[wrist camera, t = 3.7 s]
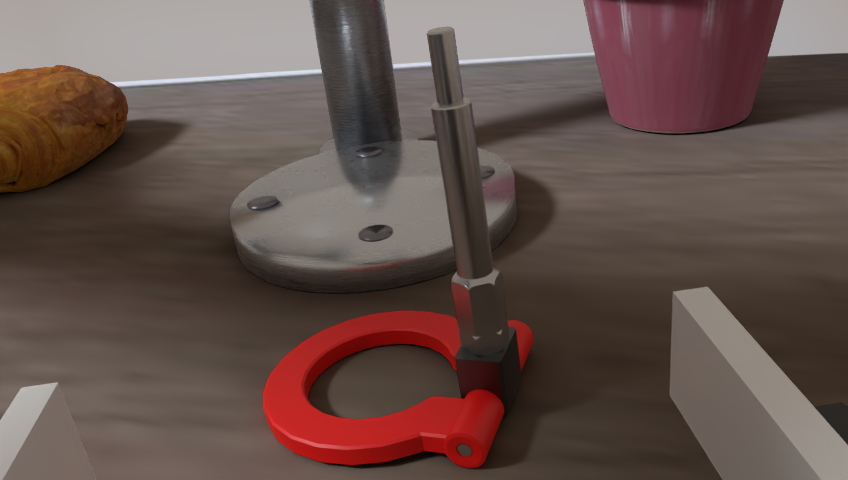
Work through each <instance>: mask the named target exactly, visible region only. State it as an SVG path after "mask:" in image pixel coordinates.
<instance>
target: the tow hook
mask: <svg viewBox="0 0 848 480" xmlns="http://www.w3.org/2000/svg"><path fill="white" fill-rule="evenodd" d="M427 38H428V44H429V51H430V58H431V64H432V71H433V77H434V84H435V90H436V97H437V102H435V103H433V105H432V106H431V111H432V117H433V124H434V130H435V136H436V143H437V149H438V155H439V162H440V168H441V175H442V181H443V187H444V194H445V200H446V206H447V213H448V219H449V226H450V232H451V238H452V245H453V251H454V257H455V264H456V270H457V271H456V273H455V274H454V276H453V277H452V280H451V286H452V293H453V299H454V305H455V311H456V317H457V319H456V318H454V317H452V316H449V315H444V314H439V313H433V312H428V311H392V312H383V313H375V314H371V315H367V316H363V317H359V318H355V319H350V320H347V321H345V322H342V323H340V324H337V325H335V326H332V327H329V328H327V329H324V330H323V331H321V332H319V333H317V334H316V335H314V336H312V337H310V338H308V339H307V340H305V341H303V342H302V343H301V344H299V345H298V346H297V347H296V348H294V349H293V350H292V351H291V352H289V353H288V354H287V355H286V356H285V357H283V359H282V360H281V361H280V362H279V364H278V365H277V366H276V367H275V369H274V370H273V371H272V372H271V374H270V376H269V378H268V381H267V383H266V386H265V388H264V391H263V402H264V412H265V415H266V419H267V422H268V424H269V426H270V428H271V430H272V432H273V433H274V435H275V437H276V439H277V440H278V441H279V442H281V443H282V444H283V445H285V446H286V447H287V448H289V449H290V450H291V451H293V452H294V453H296V454H299V455H301V456H304V457H307V458H310V459H313V460H316V461H319V462H325V463H335V464H346V465H358V464H368V463H379V462H387V461H391V460H394V459H398V458H402V457H405V456H409V455H413V454H416V453H420V452H422V451H429V452H437V453H445V454H446V455H447V457H448V458H449V459H450V460H451V461H452V462H454V463H455V464H456V465H459V466H461V467H465V468H476V467H479V466H481V465H482V464H483V463H484V462H485V459H486V457H487V454H488V452H489V449H490V447H491V444H492V442H493V439H494V437H495V435H496V432H497V430H498V427H499V425H500V422H501V421H502V420H503V419H504V418H505V417H506V416H507V413H508V411H509V408H510V406H511V403H512V401H513V398H514V396H515V393H516V391H517V388H518V386H519V383H520V381H521V375H522V373H521V371H522V368H523V366H524V363H525V361H526V358H527V356H528V354H529V351H530V349H531V346H532V344H533V341H534V336H533V332H532V331H531V329H530V328H529V327H528V326H527V325H526V324H524V323H523V322H520V321H517V320H509V321H507V320H506V319H507V312H506V305H505V297H504V289H503V282H502V274H501V271H500V270H499V269H498V268H496V267H494V266H493V260H492V253H491V245H490V238H489V230H488V223H487V216H486V208H485V201H484V193H483V186H482V178H481V171H480V163H479V156H478V148H477V141H476V134H475V126H474V119H473V111H472V104H471V100H470V99H468V98H465V97H463V91H462V84H461V76H460V69H459V62H458V55H457V47H456V40H455V34H454V29H453V28H452V27H441V28H435V29H432V30H429V31H428V33H427ZM391 344H415V345H420V346H424V347H429V348H431V349H433V350H435V351H437V352H440V353H441V354H442V355H444V356H445V357H446V358H447V359H448V360H449V361H450V362H451V364H452V367H453V369H454V370H456V371H457V374H458V380H459V386H460V392H461V398H462V399H461V398H450V397H440V396H434V397H431V398H428V399H426V400H425V401H423V402H422V403H420V404H418V405H415V406H413V407H411V408H409V409H406V410H404V411H402V412H398V413H394V414H391V415H387V416H383V417H378V418H368V419H347V418H338V417H335V416H332V415H328V414H325V413H323V412H321V411H320V410H318V409H317V408H315V407H314V406H312V405H311V403H310V402H309V400H308V395H309V392H310V388H311V386H312V384H313V383H314V382H315V380H316V379H317V377H318V376H319V375H320V374H321V373H322V372H323V371H324V370H326V369H327V368H328V367H329V366H330V365H332V364H334V363H335V362H337V361H339V360H340V359H342V358H344V357H346V356H348V355H351V354H353V353H356V352H358V351H361V350H364V349H368V348H372V347H376V346H382V345H391Z"/></svg>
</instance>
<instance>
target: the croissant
mask: <svg viewBox="0 0 848 480" xmlns="http://www.w3.org/2000/svg"><path fill="white" fill-rule="evenodd" d="M127 113H128V105H127V101H126V97H125V95H124V94H123V92H122V91H121V90H120V88H118V87H117V86H115V85H114V84H112V83H109V82H108V81H106V80H104V79H103V78H101V77H99V76H95V75H92V74H88V73H86V72H83V71H82V70H80V69H77V68H73V67H70V66H63V65H59V66H58V65H56V66H54V67H52V68H51V67H44V68H36V69H18V70H16V71H13V72H7V73H1V74H0V193H3V192H23V191H28V190H31V189H35V188H39V187H44V186H47V185H49V184H50V183H52V182H54V181H56V180H58V179H60V178H62V177H63V176H64V175H66V174H69V173H71V172H73V171H75V170H76V169H78V168H79V167H81V166H83V165H84V164H86V163H87V162H89V161H90V160H92V159H94V158H95V157H96V156H97V155H99V154H100V153H102V152H103V151H104V150H105V149H106V148H107V147H109V146H110V145H112V144H113V143H114V142H115V141H116V140H117V139H118V137H119V136H120V135H121V133H122V132H123V130H124V127H125V125H126V121H127Z"/></svg>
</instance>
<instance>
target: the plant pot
mask: <svg viewBox="0 0 848 480" xmlns="http://www.w3.org/2000/svg"><path fill="white" fill-rule="evenodd" d="M783 1H784V0H584V5H585V11H586V16H587V20H588V25H589V30H590V35H591V39H592V43H593V48H594V52H595V57H596V61H597V65H598V69H599V73H600V77H601V81H602V85H603V89H604V92H605V96H606V100H607V105H608V109H609V114H610V116H611V118H612V119H613V120H614V121H615V122H616V123H618V124H620V125H622V126H625V127H628V128H631V129H635V130H640V131H646V132H657V133H694V132H704V131H711V130H716V129H721V128H725V127H728V126H731V125H734V124H737V123H739V122H741V121H743V120H745V119H746V118H747V117H748V116H749V115H750V113H751V111H752V107H753V103H754V100H755V96H756V93H757V89H758V86H759V82H760V79H761V76H762V73H763V70H764V67H765V63H766V60H767V56H768V53H769V50H770V46H771V42H772V39H773V36H774V32H775V29H776V25H777V22H778V18H779V15H780V11H781V8H782V4H783Z"/></svg>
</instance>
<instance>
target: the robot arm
mask: <svg viewBox="0 0 848 480" xmlns="http://www.w3.org/2000/svg"><path fill="white" fill-rule="evenodd" d="M669 395H670V397H671V398H672V400H673V402H674V403H675V405H676V406H677V408H678V410H679V411H680V413H681V414H682V416H683V418H684V419H685V421H686V422H687V424H688V426H689V427H690V429H691V430H692V432H693V434H694V435H695V437H696V438H697V440H698V442H699V443H700V445H701V446H702V448H703V450H704V451H705V453H706V454H707V456H708V458H709V459H710V461H711V462H712V464H713V466H714V467H715V469H716V470H717V472H718V474H719V475H720V477H721V478H722V480H848V406H846V405H844V404H843V403H837V404H830V405H824V406H817V407H814V406H813V405H812V404H811V403H810V402H809V401H808V400H807V398H806V397H805V396H804V395H803V394H802V393H801V392H800V390H799V389H798V388H797V387H796V386H795V385H794V384H793V383H792V381H791V380H790V379H789V378H788V377H787V376H786V375H785V374H784V372H783V371H782V370H781V369H780V368H779V367H778V366H777V364H776V363H775V362H774V361H773V360H772V359H771V358H770V357H769V355H768V354H767V353H766V352H765V351H764V350H763V349H762V348H761V346H760V345H759V344H758V343H757V342H756V341H755V340H754V338H753V337H752V336H751V335H750V334H749V333H748V332H747V331H746V329H745V328H744V327H743V326H742V325H741V324H740V323H739V321H738V320H737V319H736V318H735V317H734V316H733V315H732V314H731V312H730V311H729V310H728V309H727V308H726V307H725V306H724V305H723V303H722V302H721V301H720V300H719V299H718V298H717V297H716V295H715V294H714V293H713V292H712V291H711V290H710V289H709V288H708V287H702V288H695V289H688V290H681V291H675V292H673V301H672V332H671V363H670V394H669ZM0 480H97V479H96V477H95V474H94V472H93V469H92V467H91V464H90V461H89V459H88V456H87V454H86V451H85V449H84V446H83V444H82V441H81V439H80V436H79V434H78V431H77V429H76V426H75V424H74V421H73V418H72V416H71V413H70V411H69V408H68V406H67V403H66V401H65V398H64V396H63V393H62V391H61V388H60V386H59V383H58V382H57V383H50V384H43V385H37V386H30V387H23V388H21V389H20V391H19V392H18V394H17V395H16V397H15V398H14V400H13V402H12V403H11V405H10V406H9V408H8V409H7V411H6V413H5V414H4V416H3V417H2V419H1V420H0Z"/></svg>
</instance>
